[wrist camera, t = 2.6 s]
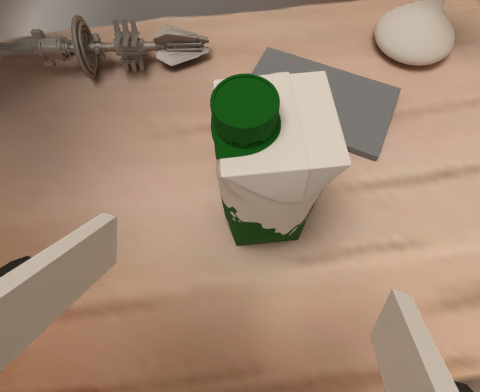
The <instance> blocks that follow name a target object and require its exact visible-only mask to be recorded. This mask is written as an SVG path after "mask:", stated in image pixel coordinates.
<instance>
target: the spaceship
mask: <svg viewBox="0 0 480 392" xmlns="http://www.w3.org/2000/svg"><path fill="white" fill-rule="evenodd" d="M78 21H79V22H78ZM130 22H131V29H132V32H129V30H128V26H127V22H126V20H122V26H123V32H121V31H120V28H119V25H118V21H117V20H113V24H114V30H115V34H114V35H115V39H113V43H103V42H100V40H101V39H100V37H99V35H98V34H96V33H95V34H93V35H92V33H91V31H90V29H89V27H88V25H87V24H86V23H85V21H84V19H83V18H82V17H81V16H79V15H75V16H74V17H73V19H72V25H71V31H72V41H71V40H68V39H67V38H65V37H62V36H61V37H60V36H57V37H45V35H43V34H44V33H42V32H43V31H41V30H32V31H31V34H32V37H27V38H24V39H20V40H17V41H14V42H11V43H0V60H2V59H4V58H5V57H8V56H13V57H18V58H23V59H28V60H33V61H43V63H44V65H45V66H47V67H54V66H55V65H56V63H54V62H55V61H54V60H63V61H65V60H70V59H72V58H73V56H76V57H77V60H78V62H79V64H80V66H81V68H82V70H83V72H84V73H85V75H86V76H87V77H89V78H94V77H95V76H96V73H97V67H98V59H97V56H98V58H99V60H100V61H104V60H105V54H104V53H105V52H109V51H114V52H116V55H118V56H122V58H121V60H120V62H119V63H118V64H122V63H123V66H124V70H125V72H129V68H128V63H131V67H132V70H133V71H137V69H136V63H139V67H140V71H144V64H143V59H145V58H143V55H146V51H156V58H157V59H159V60H160V61H162V62H164V63H166V64H168V65H170V66H174V65H177V64H180V63H183V62H186V61H189V60H191V59H194V58H197V57H199V56H200V55H203V54H206V53H209V47H204V43H209V40H208V37H204V36H201V35H197V33H194V32H190V31H186V30H182V29H179V28H175V27H171V26H168V25H167V26H166V27H164V28H163V29H161V30H160V31H158V32H157V33H155V34H154V39H153V40H154V42H152V41H151V42H144V40H143V38H138V34H139V32H140V31H139V32H137V28H136V24H135V20H130ZM77 23H78V24H77ZM122 33H124V34H122ZM130 33H132V34H130ZM127 58H129V60H128V62H127ZM135 59H137V60H136V62H135Z"/></svg>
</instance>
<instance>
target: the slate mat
mask: <svg viewBox="0 0 480 392" xmlns="http://www.w3.org/2000/svg"><path fill="white" fill-rule="evenodd" d="M316 71H325V72H326V75H327V79H328V83H329V86H330V90H331V93H332V97H333V100H334V104H335V107H336V111H337V114H338V118H339V122H340V125H341V129H342V132H343V136H344V139H345V143H346V146H347V150H348V152H351V153H354V154H357V155H359V156H362V157H365V158H368V159H370V160H373V161H376V159H377V158H378V157H379V154H380V151H381V147H382V144H383V141H384V138H385V135H386V132H387V129H388V126H389V123H390V120H391V117H392V114H393V111H394V108H395V105H396V102H397V99H398V96H399V93H400V90H401V89H400V88H397V87H394V86H391V85H388V84H384V83H381V82H378V81H375V80H371V79H368V78H365V77H362V76H359V75H355V74H352V73H349V72H346V71H343V70H339V69H336V68H333V67H330V66H327V65H323V64H320V63H317V62H314V61H311V60H307V59H304V58H301V57H298V56H295V55H291V54H288V53H285V52H282V51H279V50H275V49H272V48H269V47H267V49H266V51H265V52H264V54H263V56H262V57H261V59H260V61H259V62H258V64H257V66H256V67H255V69H254V71H253V72H252V74H254V75H268V74H273V73H279V72H289V74H294V73H305V72H316Z"/></svg>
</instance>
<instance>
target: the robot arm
mask: <svg viewBox="0 0 480 392" xmlns="http://www.w3.org/2000/svg"><path fill="white" fill-rule="evenodd" d="M116 246H117V216H114V215H111V214H107V213H101V214H99V215H98V216H96V217H95V218H93V219H92V220H90V221H88V222H87V223H85V224H84V225H82V226H81V227H79V228H77V229H76V230H74V231H73V232H71V233H70V234H68V235H66V236H65V237H63V238H62V239H60V240H59V241H57V242H55V243H54V244H52V245H51V246H49V247H48V248H46V249H44V250H43V251H41V252H40V253H38V254H37V255H35V256H33V257H29V256H25V257H23V258H20V259H17V260H14V261H11V262H9V263H8V264H6V265H4V266H3V267H1V268H0V372H1V371H2V370H3V369H4V368H5V367H6V366H7V365H8V364H9V363H10V362H12V361H13V360H14V359H15V358H16V357H17V356H18V355H19V354H20V353H21V352H22V351H23V350H24V349H25V348H26V347H27V346H28V345H29V344H31V343H32V342H33V341H34V340H35V339H36V338H37V337H38V336H39V335H40V334H41V333H42V332H43V331H44V330H45V329H46V328H47V327H49V326H50V325H51V324H52V323H53V322H54V321H55V320H56V319H57V318H58V317H59V316H60V315H61V314H62V313H63V312H64V311H65V310H67V309H68V308H69V307H70V306H71V305H72V304H73V303H74V302H75V301H76V300H77V299H78V298H79V297H80V296H81V295H82V294H83V293H84V292H86V291H87V290H88V289H89V288H90V287H91V286H92V285H93V284H94V283H95V282H96V281H97V280H98V279H99V278H100V277H101V276H102V275H104V274H105V273H106V272H107V271H108V270H109V269H110V268H111V267H112V266H113V265H114V264H115V263H116ZM371 339H372V343H373V346H374V350H375V354H376V358H377V362H378V366H379V369H380V373H381V377H382V381H383V385H384V389H385V392H473V391H472V390H471V389H470V387H468V385H466V384H463V383H460V382H456V381H454V380H453V378H452V376H451V374H450V372H449V370H448V368H447V366H446V364H445V362H444V360H443V358H442V356H441V354H440V352H439V350H438V348H437V346H436V344H435V342H434V340H433V338H432V336H431V334H430V332H429V330H428V328H427V326H426V324H425V322H424V320H423V318H422V316H421V314H420V312H419V310H418V308H417V306H416V304H415V302H414V300H413V298H412V296H411V294H410V293H406V292H402V291H398V290H394V289H392V290H391V292H390V294H389V296H388V298H387V301H386V303H385V305H384V307H383V309H382V311H381V314H380V316H379V318H378V320H377V322H376V324H375V326H374V329H373V331H372V333H371Z"/></svg>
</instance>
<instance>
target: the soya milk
mask: <svg viewBox="0 0 480 392" xmlns="http://www.w3.org/2000/svg"><path fill="white" fill-rule="evenodd" d="M210 106H211V113H212V116H211V132H212V137H213V140H214V143H215V154H216V172H217V178H218V183H219V188H220V193H221V198H222V203H223V208H224V212H225V216H226V219H227V222H228V224H229V227H230V230H231V232H232V235H233V237H234V240H235V243H236V246H238V245H248V244H258V243H268V242H278V241H288V240H298V238H299V236H300V234H301V231H302V229H303V227H304V224H305V222H306V220H307V217H308V215H309V213H310V211H311V209H312V208H313V206H314V204H315V202H316V201H317V199H318V197H319V195H320V194H321V192H322V190H323V188H324V187H325V186H326V185H327V184H328V183H329V182H331V181H332V180H333V179H334V178H336V177H337V176H338V175H339V174H340V173H342V172H343V171H344V170H345V169H347V168H348V167H349V166H350V165H351V161H350V157H349V153H348V150H347V146H346V143H345V139H344V136H343V132H342V129H341V125H340V122H339V118H338V114H337V111H336V107H335V104H334V100H333V97H332V93H331V90H330V86H329V83H328V79H327V75H326V72H325V71H316V72H305V73H294V74H289V72H279V73H273V74H268V75H254V74H237V75H233V76H230V77H228V78H226V79H219V80H214V82H213V92H212V95H211V99H210Z"/></svg>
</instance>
